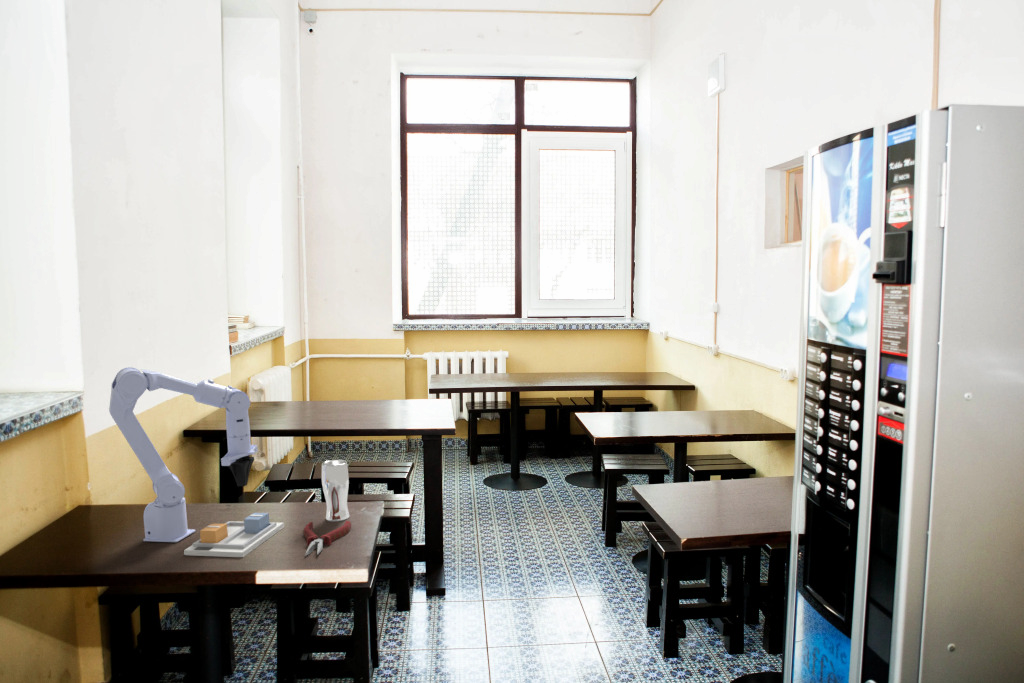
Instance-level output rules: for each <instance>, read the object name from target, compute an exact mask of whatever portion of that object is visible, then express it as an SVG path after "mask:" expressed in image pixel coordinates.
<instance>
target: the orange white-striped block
mask: <svg viewBox="0 0 1024 683" xmlns="http://www.w3.org/2000/svg"><path fill="white" fill-rule="evenodd" d="M199 534H200V535H199V536H200V537H199V538H200V539H201V543H219V542H220V541H222V540H223V539H225V538H226V537H228V532H227V524H225V523H215V522H214V523H210V524H209V525H207V526H205V527H204V528H202V529H200V530H199Z"/></svg>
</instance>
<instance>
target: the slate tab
mask: <svg viewBox="0 0 1024 683" xmlns="http://www.w3.org/2000/svg"><path fill="white" fill-rule="evenodd" d="M243 522H244V528H245V533H259V532H261V531H262V530H263V529H265V528H266V527H268V526H269V525H270V523H269V522H270V514H269V512H253V513H251V514H249V515H248V516H246V517H245V518H244V519H243Z"/></svg>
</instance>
